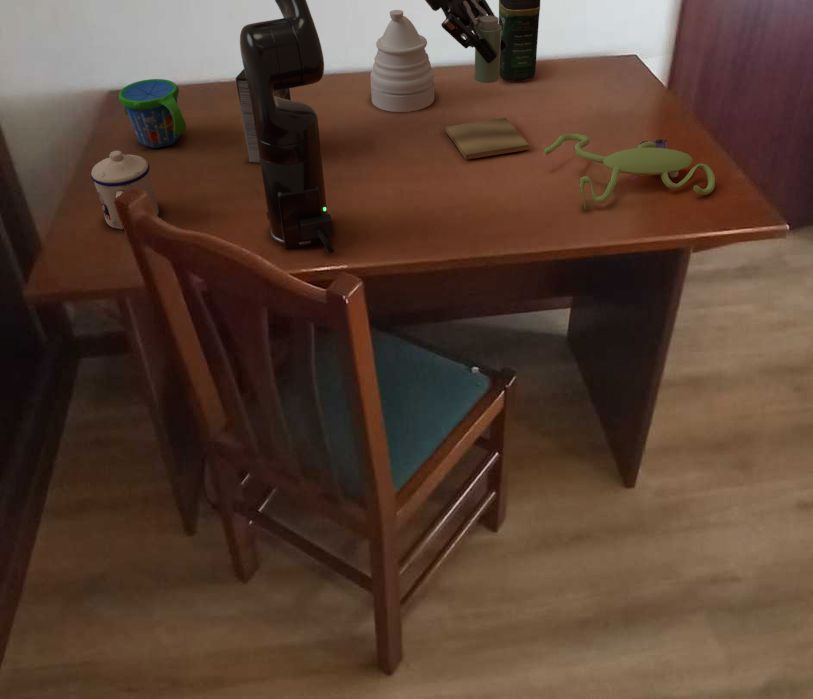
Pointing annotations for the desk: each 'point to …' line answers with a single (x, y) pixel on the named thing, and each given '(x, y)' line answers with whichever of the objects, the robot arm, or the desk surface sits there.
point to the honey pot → (401, 68)
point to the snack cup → (153, 111)
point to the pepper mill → (493, 36)
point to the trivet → (486, 138)
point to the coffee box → (248, 114)
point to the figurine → (638, 164)
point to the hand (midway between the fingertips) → (498, 54)
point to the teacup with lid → (121, 182)
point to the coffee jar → (519, 38)
